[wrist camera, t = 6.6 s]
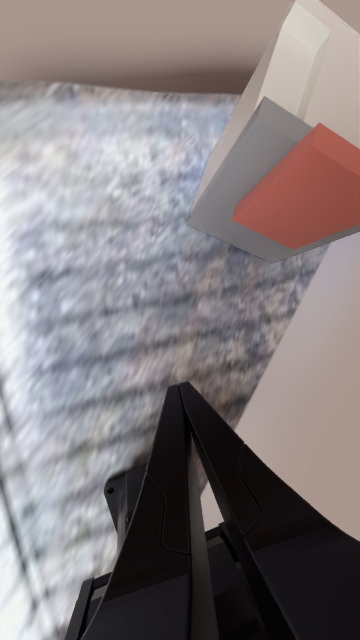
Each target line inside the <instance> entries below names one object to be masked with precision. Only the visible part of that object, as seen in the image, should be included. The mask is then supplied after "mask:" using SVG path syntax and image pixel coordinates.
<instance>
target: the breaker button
mask: <svg viewBox="0 0 360 640" xmlns="http://www.w3.org/2000/svg"><path fill="white" fill-rule="evenodd" d="M232 220H233V221H235V222H237V223H239V224H241V225H243V226H245V227H247V228H249V229H251V230H253V231H255V232H257V233H259V234H261V235H263V236H266V237H268V238H270V239H272V240H274V241H276V242H278V243H280V244H282V245H284V246H286V247H288V248H290V249H292V250H295V249H298V248H300V247H303V246H305V245H308V244H310V243H313V242H315V241H318V240H320V239H323V238H325V237H328V236H330V235H333V234H335V233H338V232H340V231H343V230H345V229H348V228H350V227H353V226H355V225H358V224H360V149H359V148H357V147H356V146H354V145H353V144H351V143H350V142H348V141H347V140H345V139H344V138H342V137H341V136H339V135H338V134H336V133H335V132H333V131H332V130H330V129H329V128H327V127H326V126H325V125H323V124H322V123H320V122H319V123H318V124H317V125H316V126H315V127H314V128H313V129H312V130H311V131H310V132H309V133H308V134H307V135H306V136H305V137H304V138H303V139H302V140H301V141H300V142H299V143H298V144H297V145H296V146H295V147H294V148H293V149H292V150H291V151H290V152H289V153H288V154H287V155H286V156H285V157H284V158H283V159H282V160H281V161H280V162H279V163H278V164H277V165H276V166H275V167H274V168H273V169H272V170H271V171H270V172H269V173H268V174H267V175H266V176H265V177H264V178H263V179H262V180H261V181H260V182H259V183H258V184H257V185H256V186H255V187H254V188H253V189H252V190H251V191H250V192H249V193H248V194H247V195H246V196H245V197H244V198H243V199H242V200H241V201H240V202H239V203H238V204H237V205H236V207H235V210H234V213H233V216H232Z"/></svg>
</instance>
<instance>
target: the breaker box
mask: <svg viewBox="0 0 360 640" xmlns="http://www.w3.org/2000/svg"><path fill="white" fill-rule="evenodd" d="M319 122H320V123H322V124H323V125H325V126H326V127H327V128H329V129H330V130H332V131H333V132H335V133H336V134H338V135H339V136H341V137H342V138H344V139H345V140H347V141H348V142H350V143H351V144H353V145H354V146H356V147H357V148H359V149H360V34H359V33H358V32H356V31H355V30H354V29H353V28H351V27H350V26H349V25H348V24H347V23H345V22H344V21H343V20H342V19H341V18H339V17H338V16H337V15H336V14H335V13H333V12H332V11H331V10H330V9H328V8H327V7H326V6H325V5H324V4H322V3H321V2H320V1H319V0H292V2H291V4H290V6H289V8H288V10H287V11H286V13H285V15H284V17H283V19H282V21H281V23H280V25H279V27H278V28H277V30H276V33H275V34H274V36H273V38H272V40H271V42H270V44H269V45H268V47H267V49H266V51H265V53H264V55H263V57H262V59H261V61H260V62H259V64H258V66H257V68H256V70H255V72H254V74H253V76H252V77H251V79H250V81H249V83H248V85H247V87H246V89H245V91H244V92H243V94H242V96H241V98H240V100H239V102H238V104H237V106H236V107H235V109H234V111H233V113H232V115H231V117H230V119H229V121H228V123H227V124H226V126H225V128H224V130H223V132H222V134H221V136H220V138H219V139H218V141H217V143H216V145H215V147H214V149H213V151H212V153H211V155H210V156H209V158H208V161H207V164H206V167H205V170H204V173H203V176H202V179H201V182H200V185H199V188H198V191H197V194H196V196H195V199H194V202H193V205H192V208H191V211H190V214H189V217H188V220H187V223H186V225H189V226H191V227H193V228H195V229H197V230H200V231H202V232H204V233H206V234H208V235H211V236H213V237H215V238H217V239H219V240H221V241H224V242H226V243H228V244H230V245H232V246H235V247H237V248H239V249H241V250H243V251H246V252H248V253H250V254H252V255H254V256H257V257H259V258H261V259H263V260H265V261H268V262H270V263H275V262H278V261H281V260H283V259H286V258H289V257H291V256H294V255H297V254H300V253H302V252H305V251H308V250H311V249H313V248H316V247H319V246H322V245H324V244H327V243H330V242H332V241H335V240H338V239H341V238H343V237H346V236H349V235H352V234H354V233H357V232H360V224H358V225H355V226H353V227H350V228H348V229H345V230H343V231H340V232H338V233H335V234H333V235H330V236H328V237H325V238H323V239H320V240H318V241H315V242H313V243H310V244H308V245H305V246H303V247H300V248H298V249H295V250H292V249H290V248H288V247H286V246H284V245H282V244H280V243H278V242H276V241H274V240H272V239H270V238H268V237H266V236H263V235H261V234H259V233H257V232H255V231H253V230H251V229H249V228H247V227H245V226H243V225H241V224H239V223H237V222H235V221H233V220H232V216H233V213H234V210H235V207H236V205H237V204H238V203H239V202H240V201H241V200H242V199H243V198H244V197H245V196H246V195H247V194H248V193H249V192H250V191H251V190H252V189H253V188H254V187H255V186H256V185H257V184H258V183H259V182H260V181H261V180H262V179H263V178H264V177H265V176H266V175H267V174H268V173H269V172H270V171H271V170H272V169H273V168H274V167H275V166H276V165H277V164H278V163H279V162H280V161H281V160H282V159H283V158H284V157H285V156H286V155H287V154H288V153H289V152H290V151H291V150H292V149H293V148H294V147H295V146H296V145H297V144H298V143H299V142H300V141H301V140H302V139H303V138H304V137H305V136H306V135H307V134H308V133H309V132H310V131H311V130H312V129H313V128H314V127H315V126H316V125H317V124H318V123H319Z"/></svg>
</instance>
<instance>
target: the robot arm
mask: <svg viewBox="0 0 360 640" xmlns="http://www.w3.org/2000/svg"><path fill="white" fill-rule="evenodd" d="M189 427H190V428H189ZM190 431H191V432H190ZM191 434H192V436H191ZM192 438H193V441H194V444H195V446H196V449H197V452H198V454H199V457H200V459H201V462H202V465H203V467H204V470H205V473H206V475H207V478H208V480H209V483H210V485H211V488H212V491H213V493H214V496H215V499H216V501H217V504H218V506H219V509H220V512H221V514H222V517H223V519H224V522H222V523H220V524H218V525H219V526H218V527H215V528H213V529H211V530H209V531H206V532H205V530H204V522H203V515H202V508H201V500H200V493H199V485H198V478H197V470H196V463H195V455H194V448H193V441H192ZM111 487H112V488H113V489H112V490H108V489H109V488H111ZM104 495H105V498H106V501H107V504H108V507H109V510H110V513H111V516H112V519H113V522H114V525H115V528H116V531H117V534H118V535H117V561H116V563H115V566H114V569H113V571H112V572H110V573H108V574H105V575H103V576H101V577H98V578H96V579H94V577H92V578H90V579H87V580H85V581H83V584H82V587H81V590H80V594H79V597H78V600H77V601H76V604H75V608H74V611H73V614H72V617H71V621H70V624H69V627H68V630H67V633H66V637H65V640H360V541H358V540H356V539H355V538H353V537H351V536H350V535H348V534H346V533H345V532H343V531H342V530H340V529H339V528H338V527H336V526H335V525H334V524H332V523H331V522H330V521H329V520H327V519H326V518H325V517H324V516H323V515H321V514H320V513H319V512H318V511H317V510H316V509H314V508H313V507H312V506H311V505H310V504H309V503H308V502H307V501H305V500H304V499H303V498H302V497H301V496H300V495H299V494H297V493H296V492H295V491H294V490H293V489H292V488H291V487H289V486H288V485H287V484H286V483H285V482H284V481H283V480H282V479H280V478H279V477H278V476H277V475H276V474H275V473H274V472H273V471H272V470H271V469H270V468H269V467H267V466H266V465H265V464H264V463H263V462H262V460H260V458H259V457H258V456H256V454H255V453H254V452H253V451H252V450H251V449H250V448H249V447H248V446H247V445H246V444H244V441H243V440H242V439H241V438H240V437H239V436H238V435H237V434H236V433H235V432H234V431H233V429H232V428H231V427H230V426H229V425H228V424H227V423H226V422H225V421H224V420H223V418H222V417H221V416H220V415H219V414H218V413H217V412H216V411H215V410H214V409H213V408H212V406H211V405H210V404H209V403H208V402H207V401H206V400H205V399H204V398H203V397H202V396H201V394H200V393H199V392H198V391H197V390H196V389H195V388H194V387H193V386H192V385H191V383H190V382H188V381H185V382H182V383H179V386H178V384H175V385H171V386H169V387H168V388H167V392H166V396H165V400H164V404H163V407H162V411H161V415H160V419H159V423H158V427H157V430H156V434H155V438H154V442H153V446H152V449H151V453H150V457H149V461H148V463H147V464H145V465H142V466H140V467H138V468H136V469H133V470H131V471H129V472H127V473H126V474H124V475H122V476H120V477H118V478H115V479H113V480H111V481H109V482H107V483H106V484H105V487H104Z"/></svg>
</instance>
